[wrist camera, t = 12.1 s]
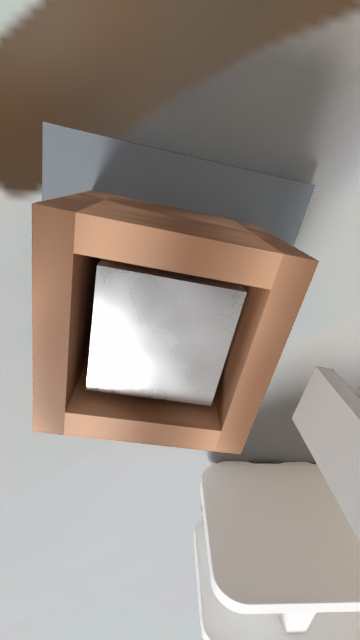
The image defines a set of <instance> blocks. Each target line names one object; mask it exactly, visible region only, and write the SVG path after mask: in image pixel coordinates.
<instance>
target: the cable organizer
mask: <svg viewBox="0 0 360 640" xmlns="http://www.w3.org/2000/svg"><path fill="white" fill-rule="evenodd" d="M200 492H201V501H202V510H203V517H202V518H201V519H200V520H199V521H198V522H197V524H196V527H195V532H194V548H195V561H196V573H197V586H198V598H199V611H200V624H201V634H202V638H203V640H360V542H359V540H358V538H357V536H356V535H355V533H354V531H353V529H352V527H351V525H350V524H349V522H348V520H347V518H346V516H345V514H344V513H343V511H342V509H341V507H340V505H339V504H338V502H337V500H336V498H335V496H334V494H333V493H332V491H331V489H330V487H329V485H328V483H327V482H326V480H325V478H324V476H323V474H322V473H321V471H320V469H319V467H318V465H317V464H311V463H309V462H283V463H280V464H252V463H251V462H246V461H222V462H219V463H218V464H214V465H211V466H209V467H207V468H206V469H205V470H204V472H203V474H202V477H201V484H200Z"/></svg>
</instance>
